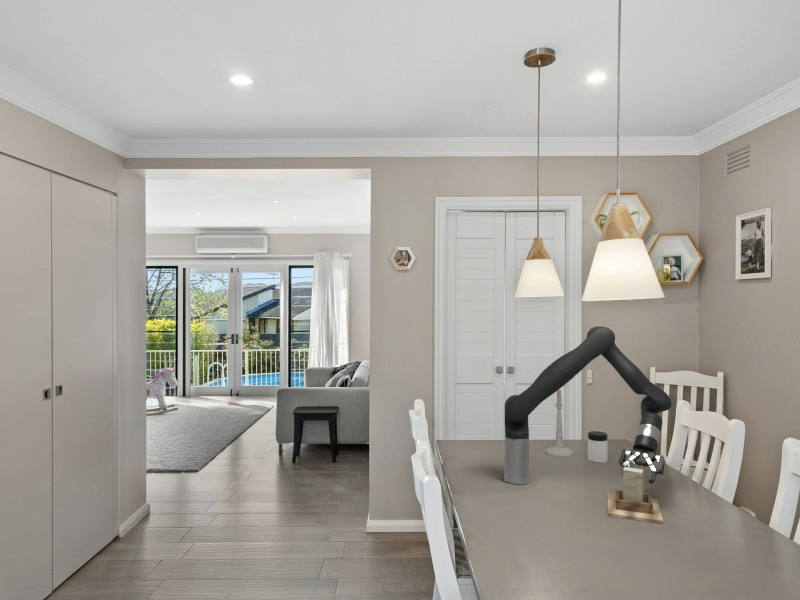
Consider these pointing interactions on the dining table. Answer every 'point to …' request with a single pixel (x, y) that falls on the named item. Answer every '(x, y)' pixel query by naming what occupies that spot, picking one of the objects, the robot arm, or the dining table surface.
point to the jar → (597, 447)
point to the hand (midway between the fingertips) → (637, 479)
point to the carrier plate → (634, 508)
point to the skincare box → (633, 484)
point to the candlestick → (559, 433)
